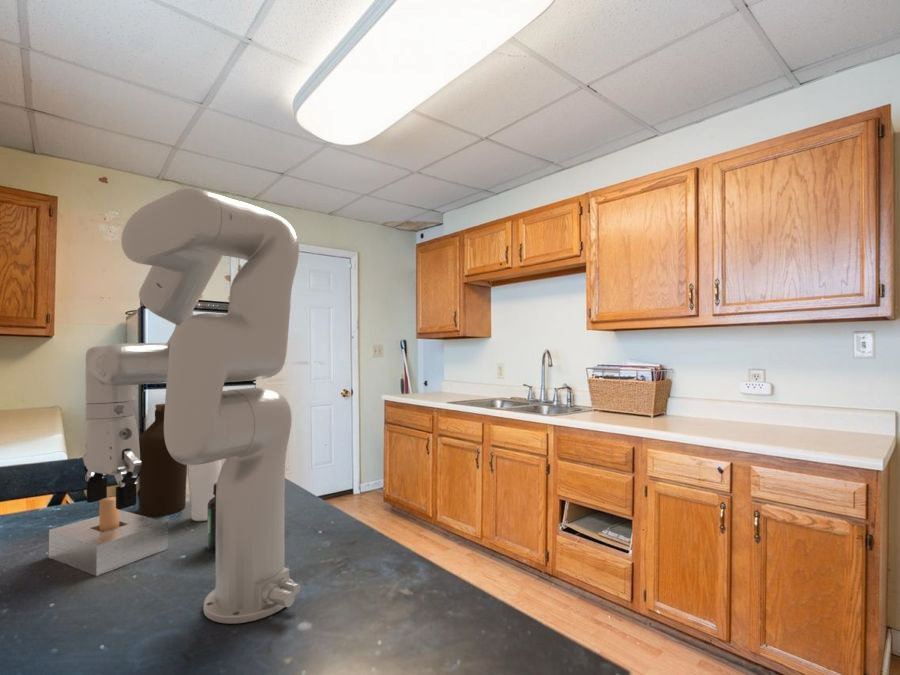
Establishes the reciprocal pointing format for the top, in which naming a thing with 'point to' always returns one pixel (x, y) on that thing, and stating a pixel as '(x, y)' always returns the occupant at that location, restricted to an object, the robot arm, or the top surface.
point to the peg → (108, 514)
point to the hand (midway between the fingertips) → (111, 503)
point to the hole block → (107, 542)
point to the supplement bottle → (211, 522)
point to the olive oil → (159, 473)
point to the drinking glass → (202, 487)
